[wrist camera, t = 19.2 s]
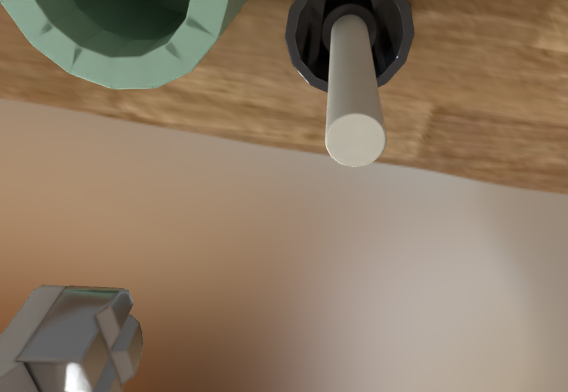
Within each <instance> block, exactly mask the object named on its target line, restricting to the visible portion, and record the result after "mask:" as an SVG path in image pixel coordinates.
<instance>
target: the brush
mask: <svg viewBox="0 0 568 392" xmlns="http://www.w3.org/2000/svg"><path fill="white" fill-rule="evenodd" d="M377 33H378V27H377V22H376V18H375V14H374V10H373V6H372V2H371V0H326V2H325V5H324V12H323V20H322V29H321V37H322V41H323V44H324V46H325V48H326V49H327V50H328V52H329V53H330V64H329V82H328V100H327V118H326V136H325V144H326V148H327V150H328V152H329V154H330V155H331V157H332V158H333V159H335V160H336V161H337V162H339V163H340V164H343V165H346V166H350V167H359V166H364V165H367V164H370V163H372V162H373V161H375V160H376V159H377V158H378V157H379V156H380V155H381V154H382V152H383V150H384V148H385V145H386V140H387V139H386V131H385V125H384V119H383V114H382V108H381V103H380V97H379V91H378V86H377V80H376V75H375V69H374V63H373V58H372V52H371V48H372V47H373V45H374V43H375V41H376V38H377Z"/></svg>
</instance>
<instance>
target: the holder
mask: <svg viewBox="0 0 568 392" xmlns="http://www.w3.org/2000/svg"><path fill="white" fill-rule="evenodd" d="M325 2H326V0H293V1H292V4H291V7H290V9H289V15H288V21H287V26H286V32H285V41H286V44H287V48H288V52H289V55H290V59H291V62H292V64H293V66H294V67H295V68H296V70H297V71H298V72H299V73H300V74H301V75H302V76H303V78H304V79H305V80H306V81H307V82H308V83H309V84H310V85H311V86H313V87H316V88H318V89H320V90H323V91H325V92H327V93H328V82H329V64H330V53H329V52H328V50H327V49H326V48H325V46H324V44H323V41H322V37H321V29H322V20H323V12H324V5H325ZM371 2H372V6H373V10H374V14H375V18H376V22H377V27H378V33H377V38H376V41H375V43H374V45H373V47H372V48H371V52H372V58H373V63H374V69H375V75H376V80H377V86H378V87H380V86H382V85H384V84H386V83H387V82H388V81H389V80H390V79H391V78H392V77H393V76H394V75H395V73H396V72H397V71H398V70H399V69H400V68H401V67H402V66H403V64H404V63H405V61H406V60H407V56H408V53H409V50H410V47H411V44H412V40H413V37H414V26H413V19H412V12H411V5H410V3H409V1H408V0H371Z"/></svg>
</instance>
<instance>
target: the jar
mask: <svg viewBox="0 0 568 392" xmlns="http://www.w3.org/2000/svg"><path fill="white" fill-rule="evenodd" d="M246 1H247V0H1V3H2V5H3V6H4V7H5V9H6V10H7V12H8V13H9V14H10V16H11V17H12V19H13V20H14V21H15V23H16V24H17V25H18V27H19V28H20V30H21V31H22V32H23V34H24V35H25V36H26V38H27V39H28V41H29V42H30V43H32V45H33V46H34V47H36V48H37V49H38V50H39V51H41V52H42V53H43V54H45V55H46V56H47V57H48V58H50V59H51V60H52V61H54V62H55V63H56V64H58V65H59V66H60V67H61V68H63V69H64V70H65V71H67V72H68V73H71V74H72V75H74V76H77V77H80V78H83V79H86V80H88V81H91V82H94V83H97V84H100V85H102V86H105V87H108V88H111V89H112V88H113V89H152V88H157V87H159V86H162V85H164V84H166V83H168V82H170V81H172V80H174V79H176V78H179V77H181V76H183V75H185V74H187V73H189V72H191V71H192V70H193V69H194V68H195V67H196V66H197V64H198V63H199V62H200V61H201V59H202V58H203V57H204V56H205V55H206V53H207V52H208V51H209V50H210V48H211V47H212V46H213V45H214V44H215V42H216V41H217V40H218V39H219V37H220V36H221V35H222V33H223V32H224V31H225V29H226V28H227V27H228V25H229V24H230V22H231V21H232V20H233V18H234V17H235V16H236V14H237V13H238V12H239V10H240V9H241V8H242V6H243V5H244V4H245V2H246Z"/></svg>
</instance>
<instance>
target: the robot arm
mask: <svg viewBox="0 0 568 392" xmlns="http://www.w3.org/2000/svg"><path fill="white" fill-rule="evenodd" d="M132 306H133V301H132V298H131V296H130V293H129V290H126V289H123V288H107V287H88V286H58V285H41V286H40V287H38V288H36V289H34V291H33V292H32V293H31V295H30V296H29V297H28V299H27V300H26V301H25V303H24V304H23V306H22V307H21V308H20V310H19V311H18V313H17V314H16V315H15V317H14V318H13V319H12V321H11V322H10V323H9V325H8V326H7V328H6V329H5V330H4V332H3V333H2V334H1V336H0V392H124V391H123V389H122V385H123V384H125V383H126V382H127V381H128V380H129V379H131V378H132V377H133V376H134V375H135V373H136V371H137V368H138V365H139V363H140V359H141V353H142V346H143V338H142V330H141V326H140V323H139V321H137V320H136V319H135V318H134V317H133V316H132V315H130V314H129V313H130V310H131V309H132Z"/></svg>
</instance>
